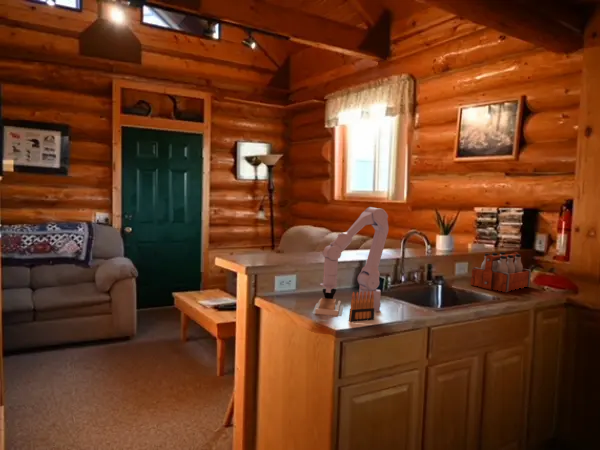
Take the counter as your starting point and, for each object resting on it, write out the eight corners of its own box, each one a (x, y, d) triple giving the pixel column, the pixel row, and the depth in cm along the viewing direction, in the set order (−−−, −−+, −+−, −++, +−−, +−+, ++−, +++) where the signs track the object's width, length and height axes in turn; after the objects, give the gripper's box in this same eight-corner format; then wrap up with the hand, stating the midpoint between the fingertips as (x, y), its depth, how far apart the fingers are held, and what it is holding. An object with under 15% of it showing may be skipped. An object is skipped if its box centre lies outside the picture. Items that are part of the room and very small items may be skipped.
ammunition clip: (351, 322, 185) (352, 292, 184) (348, 321, 187) (350, 291, 186) (374, 320, 190) (376, 291, 189) (371, 319, 191) (373, 290, 190)
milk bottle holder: (467, 286, 273) (470, 252, 272) (497, 280, 296) (500, 249, 294) (503, 293, 257) (506, 258, 256) (532, 287, 280) (535, 254, 278)
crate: (335, 310, 200) (335, 299, 200) (334, 314, 194) (334, 302, 194) (320, 309, 201) (321, 297, 200) (319, 313, 195) (320, 301, 194)
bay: (343, 306, 210) (343, 301, 210) (341, 317, 192) (341, 311, 192) (316, 304, 211) (316, 298, 211) (311, 314, 194) (312, 308, 194)
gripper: (322, 270, 208) (320, 301, 209) (319, 276, 194) (317, 309, 195) (338, 271, 207) (336, 302, 209) (336, 277, 193) (334, 310, 194)
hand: (328, 306), depth 202 cm, fingers closed
